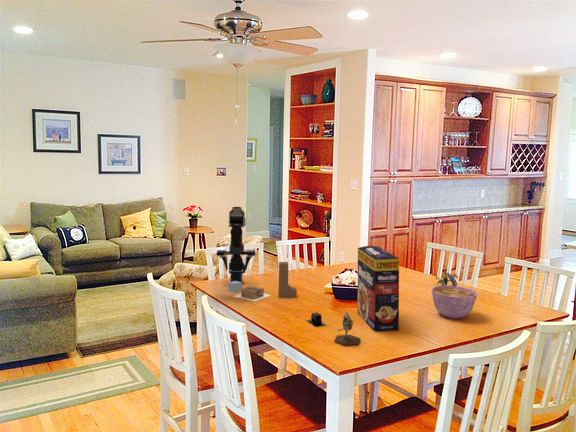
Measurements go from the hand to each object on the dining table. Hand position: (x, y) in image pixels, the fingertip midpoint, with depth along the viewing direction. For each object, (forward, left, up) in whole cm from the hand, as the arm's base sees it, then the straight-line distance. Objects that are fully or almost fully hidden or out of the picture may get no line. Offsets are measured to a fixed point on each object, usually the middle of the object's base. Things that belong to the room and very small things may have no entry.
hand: (236, 270), depth 247 cm
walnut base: (-8, +4, -14) cm, 17 cm away
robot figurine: (+17, +71, -15) cm, 75 cm away
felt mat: (-9, +3, -15) cm, 18 cm away
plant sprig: (-89, +78, -15) cm, 119 cm away
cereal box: (-12, +70, -15) cm, 73 cm away
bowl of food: (-41, +95, -15) cm, 105 cm away
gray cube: (-11, -10, -15) cm, 21 cm away
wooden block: (-19, +18, -15) cm, 30 cm away
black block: (+6, +50, -16) cm, 53 cm away
